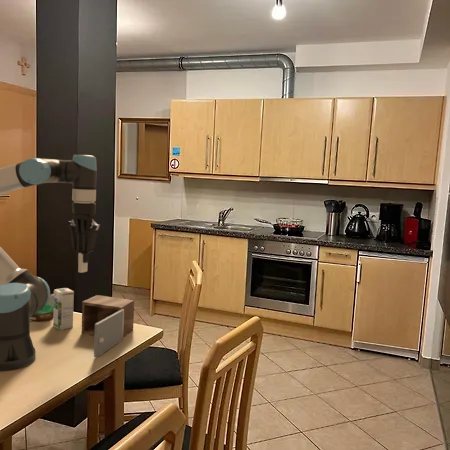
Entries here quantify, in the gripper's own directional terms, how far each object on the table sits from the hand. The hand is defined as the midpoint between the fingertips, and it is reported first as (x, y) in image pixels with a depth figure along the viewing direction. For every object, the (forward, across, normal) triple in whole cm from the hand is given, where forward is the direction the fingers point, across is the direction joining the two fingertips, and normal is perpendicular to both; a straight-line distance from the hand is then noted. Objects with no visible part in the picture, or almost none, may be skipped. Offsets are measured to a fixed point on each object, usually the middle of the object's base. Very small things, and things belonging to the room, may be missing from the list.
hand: (82, 271), depth 152 cm
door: (+26, -10, -4) cm, 28 cm away
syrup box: (+27, +20, -10) cm, 35 cm away
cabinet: (+26, +2, -16) cm, 31 cm away
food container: (+27, +31, -12) cm, 43 cm away
